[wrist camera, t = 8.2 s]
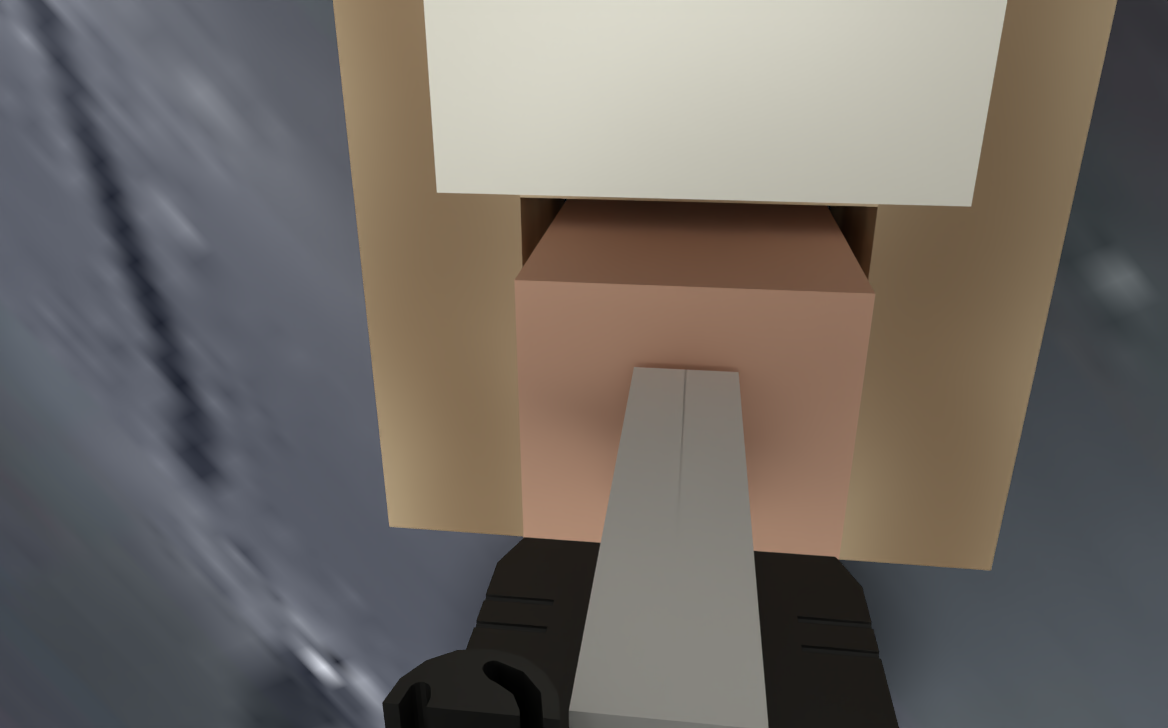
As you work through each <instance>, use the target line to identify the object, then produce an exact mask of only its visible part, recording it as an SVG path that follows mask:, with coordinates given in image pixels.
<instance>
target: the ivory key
mask: <svg viewBox="0 0 1168 728" xmlns="http://www.w3.org/2000/svg"><path fill="white" fill-rule="evenodd" d="M423 1H424V15H425V29H426V44H427V58H428V73H429V87H430V101H431V116H432V130H433V144H434V159H435V173H436V188H437V193H470V194H508V195H547V196H585V197H624V198H662V199H701V200H739V201H778V202H816V203H854V204H893V205H931V206H970V207H971V204H972V199H973V193H974V187H975V182H976V176H977V170H978V165H979V159H980V153H981V147H982V142H983V136H984V130H985V125H986V119H987V113H988V108H989V102H990V96H991V91H992V85H993V79H994V73H995V68H996V62H997V56H998V51H999V45H1000V39H1001V34H1002V28H1003V22H1004V16H1005V11H1006V5H1007V0H423Z"/></svg>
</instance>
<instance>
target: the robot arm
mask: <svg viewBox="0 0 1168 728" xmlns="http://www.w3.org/2000/svg"><path fill="white" fill-rule="evenodd" d="M383 712H384V720H385V728H899V726H898V723H897V719H896V715H895V711H894V707H893V703H892V700H891V696H890V692H889V688H888V684H887V680H886V676H885V673H884V669H883V665H882V661H881V659H879V650H878V646H877V642H876V638H875V634H874V630H873V629H871V619H870V615H869V611H868V607H867V603H866V600H865V596H864V592H863V588H862V586H861V585H860V584H859V583H858V582H857V581H856V580H855V578H854V577H853V576H852V575H851V574H850V573H849V572H848V570H847V569H846V568H845V567H844V566H843V565H842V564H841V562H840V561H839V560H838V559H837V558H836V557H833V556H819V555H805V554H791V553H778V552H764V551H754V549H753V538H752V526H751V514H750V502H749V490H748V478H747V466H746V455H745V443H744V431H743V419H742V407H741V395H740V383H739V372H727V371H707V370H686V369H666V368H645V367H634V369H633V374H632V380H631V385H630V390H629V396H628V401H627V406H626V411H625V417H624V422H623V427H622V433H621V438H620V443H619V448H618V454H617V459H616V464H615V469H614V475H613V480H612V485H611V491H610V496H609V501H608V506H607V512H606V517H605V522H604V528H603V533H602V538H601V543H598V542H585V541H571V540H557V539H544V538H530V537H524V538H523V539H522V540H521V541H520V542H519V543H518V544H517V545H516V546H515V547H514V548H513V549H512V550H510V551H509V552H508V553H507V554H506V555H505V556H504V557H503V558H502V559H501V560H500V561H499V562H498V563H497V566H496V568H495V571H494V574H493V577H492V579H491V582H490V585H489V588H488V590H487V593H486V600H484V601H483V604H482V607H481V610H480V613H479V615H478V618H477V624H476V628H474V629H473V632H472V635H471V637H470V640H469V643H468V646H467V648H466V650H457V651H453V652H450V653H447V654H444V655H441V656H438V657H435V658H432V659H429V660H426V661H425V662H423V663H422V664H420V665H419V666H417V667H416V668H415V669H413V670H412V671H410V672H409V673H407V674H406V675H404V676H403V677H402V678H400V679H399V681H398V682H397V683H396V685H395V686H394V687H393V689H392V690H391V692H390V693H389V694H388V696H387V697H386V699H385V700H384V701H383Z"/></svg>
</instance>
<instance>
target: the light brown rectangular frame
mask: <svg viewBox="0 0 1168 728" xmlns="http://www.w3.org/2000/svg"><path fill="white" fill-rule="evenodd" d="M1116 4H1117V0H1007V5H1006V11H1005V16H1004V22H1003V28H1002V34H1001V39H1000V45H999V51H998V56H997V62H996V68H995V73H994V79H993V85H992V91H991V96H990V102H989V108H988V113H987V119H986V125H985V130H984V136H983V142H982V147H981V153H980V159H979V165H978V170H977V176H976V182H975V187H974V193H973V199H972V204H971V207H970V206H931V205H893V204H854V203H816V202H778V201H739V200H701V199H662V198H624V197H585V196H547V195H508V194H470V193H437V188H436V173H435V159H434V144H433V130H432V116H431V101H430V87H429V73H428V58H427V44H426V29H425V15H424V1H423V0H333V6H334V15H335V25H336V34H337V43H338V52H339V62H340V71H341V80H342V90H343V99H344V108H345V118H346V127H347V136H348V145H349V155H350V164H351V173H352V183H353V192H354V201H355V210H356V220H357V229H358V238H359V248H360V257H361V266H362V275H363V285H364V294H365V303H366V313H367V322H368V331H369V341H370V350H371V359H372V368H373V378H374V387H375V396H376V406H377V415H378V424H379V433H380V443H381V452H382V461H383V471H384V480H385V489H386V499H387V508H388V517H389V526H390V527H402V528H415V529H429V530H443V531H457V532H470V533H484V534H498V535H511V536H523V509H522V481H521V453H520V425H519V397H518V369H517V340H516V312H515V284H514V280H515V278H516V277H517V275H518V274H519V272H520V271H521V269H522V268H523V266H524V265H525V263H526V262H527V260H528V258H529V257H530V255H531V254H532V252H533V251H534V249H535V248H536V246H537V245H538V243H539V242H540V240H541V239H542V237H543V235H544V234H545V232H546V231H547V229H548V228H549V226H550V225H551V223H552V222H553V220H554V219H555V217H556V216H557V214H558V212H559V211H560V209H561V208H562V206H563V205H564V199H601V200H639V201H677V202H715V203H753V204H791V205H829V206H831V209H830V212H831V214H832V216H833V218H834V219H835V221H836V223H837V225H838V227H839V229H840V230H841V232H842V234H843V236H844V238H845V239H846V241H847V243H848V245H849V247H850V248H851V250H852V252H853V254H854V256H855V258H856V259H857V261H858V263H859V265H860V267H861V268H862V270H863V272H864V274H865V276H866V277H867V279H868V281H869V283H870V285H871V287H872V288H873V290H874V292H875V301H874V308H873V315H872V323H871V330H870V337H869V345H868V352H867V359H866V367H865V374H864V381H863V388H862V396H861V403H860V410H859V418H858V425H857V432H856V439H855V447H854V454H853V461H852V469H851V476H850V483H849V490H848V498H847V505H846V512H845V520H844V527H843V534H842V542H841V549H840V556H839V559H841V560H855V561H869V562H882V563H896V564H910V565H924V566H937V567H951V568H965V569H978V570H991V567H992V563H993V558H994V554H995V549H996V545H997V540H998V536H999V531H1000V527H1001V522H1002V518H1003V513H1004V509H1005V504H1006V500H1007V495H1008V491H1009V486H1010V482H1011V477H1012V473H1013V468H1014V464H1015V459H1016V455H1017V450H1018V446H1019V441H1020V437H1021V432H1022V428H1023V423H1024V419H1025V414H1026V410H1027V405H1028V401H1029V396H1030V392H1031V387H1032V382H1033V378H1034V373H1035V369H1036V364H1037V360H1038V355H1039V351H1040V346H1041V342H1042V337H1043V333H1044V328H1045V324H1046V319H1047V315H1048V310H1049V306H1050V301H1051V297H1052V292H1053V288H1054V283H1055V279H1056V274H1057V270H1058V265H1059V261H1060V256H1061V252H1062V247H1063V243H1064V238H1065V234H1066V229H1067V225H1068V220H1069V216H1070V211H1071V207H1072V202H1073V198H1074V193H1075V189H1076V184H1077V180H1078V175H1079V171H1080V166H1081V162H1082V157H1083V153H1084V148H1085V143H1086V139H1087V134H1088V130H1089V125H1090V121H1091V116H1092V112H1093V107H1094V103H1095V98H1096V94H1097V89H1098V85H1099V80H1100V76H1101V71H1102V67H1103V62H1104V58H1105V53H1106V49H1107V44H1108V40H1109V35H1110V31H1111V26H1112V22H1113V17H1114V13H1115V8H1116Z"/></svg>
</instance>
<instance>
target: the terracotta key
mask: <svg viewBox="0 0 1168 728" xmlns="http://www.w3.org/2000/svg"><path fill="white" fill-rule="evenodd" d="M514 284H515V312H516V340H517V369H518V397H519V425H520V453H521V481H522V509H523V537H530V538H544V539H557V540H571V541H585V542H598V543H601V538H602V533H603V528H604V522H605V517H606V512H607V506H608V501H609V496H610V491H611V485H612V480H613V475H614V469H615V464H616V459H617V454H618V448H619V443H620V438H621V433H622V427H623V422H624V417H625V411H626V406H627V401H628V396H629V390H630V385H631V380H632V374H633V369H634V367H645V368H666V369H686V370H707V371H727V372H739V383H740V395H741V407H742V419H743V431H744V443H745V455H746V466H747V478H748V490H749V502H750V514H751V526H752V538H753V549H754V551H764V552H778V553H791V554H805V555H819V556H833V557H836V558H837V559H838V560H839V556H840V549H841V542H842V534H843V527H844V520H845V512H846V505H847V498H848V490H849V483H850V476H851V469H852V461H853V454H854V447H855V439H856V432H857V425H858V418H859V410H860V403H861V396H862V388H863V381H864V374H865V367H866V359H867V352H868V345H869V337H870V330H871V323H872V315H873V308H874V301H875V292H874V290H873V288H872V287H871V285H870V283H869V281H868V279H867V277H866V276H865V274H864V272H863V270H862V268H861V267H860V265H859V263H858V261H857V259H856V258H855V256H854V254H853V252H852V250H851V248H850V247H849V245H848V243H847V241H846V239H845V238H844V236H843V234H842V232H841V230H840V229H839V227H838V225H837V223H836V221H835V219H834V218H833V216H832V214H831V212H830V210H829V209H828V207H827V205H791V204H753V203H715V202H677V201H639V200H601V199H567V200H566V202H565V203H564V205H563V206H562V208H561V209H560V211H559V212H558V214H557V216H556V217H555V219H554V220H553V222H552V223H551V225H550V226H549V228H548V229H547V231H546V232H545V234H544V235H543V237H542V239H541V240H540V242H539V243H538V245H537V246H536V248H535V249H534V251H533V252H532V254H531V255H530V257H529V258H528V260H527V262H526V263H525V265H524V266H523V268H522V269H521V271H520V272H519V274H518V275H517V277H516V278H515V280H514Z"/></svg>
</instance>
